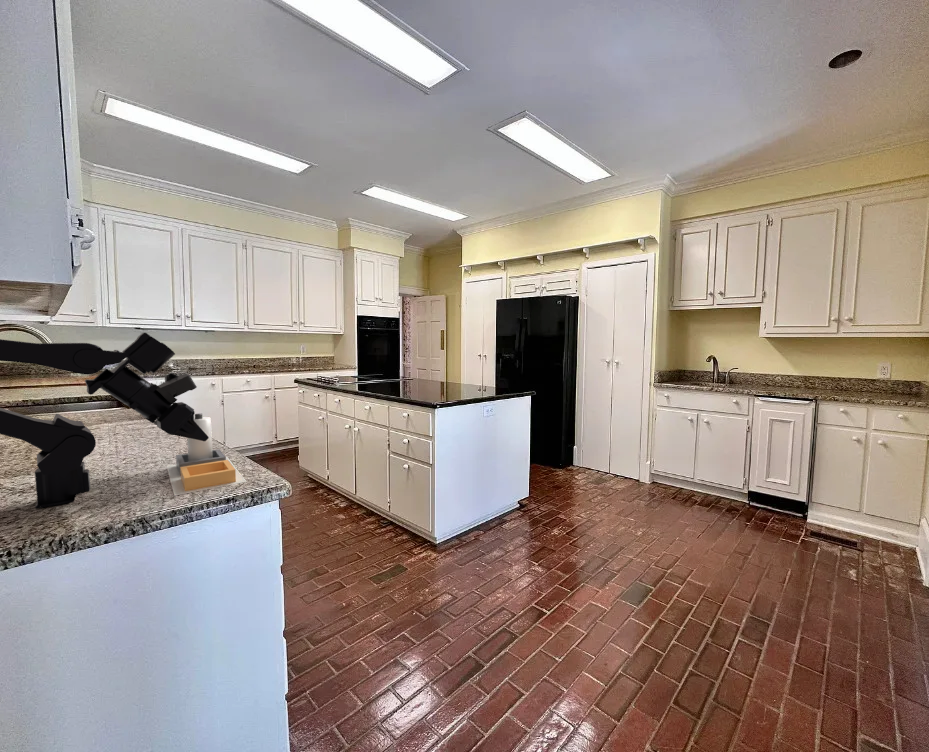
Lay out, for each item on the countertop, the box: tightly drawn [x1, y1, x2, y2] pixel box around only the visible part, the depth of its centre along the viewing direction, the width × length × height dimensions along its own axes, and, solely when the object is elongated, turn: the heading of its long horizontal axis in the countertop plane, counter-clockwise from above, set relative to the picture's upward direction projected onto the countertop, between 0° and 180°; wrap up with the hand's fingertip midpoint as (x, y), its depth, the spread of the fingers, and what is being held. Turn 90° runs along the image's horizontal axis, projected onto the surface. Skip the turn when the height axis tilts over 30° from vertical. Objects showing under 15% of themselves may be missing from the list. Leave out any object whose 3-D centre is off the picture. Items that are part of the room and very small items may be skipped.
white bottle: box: [186, 412, 213, 462], centre depth 91 cm, size 5×5×12 cm
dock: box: [166, 448, 247, 496], centre depth 88 cm, size 12×22×4 cm, turn 39°
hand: (200, 435), depth 92 cm, fingers open, 9 cm apart
